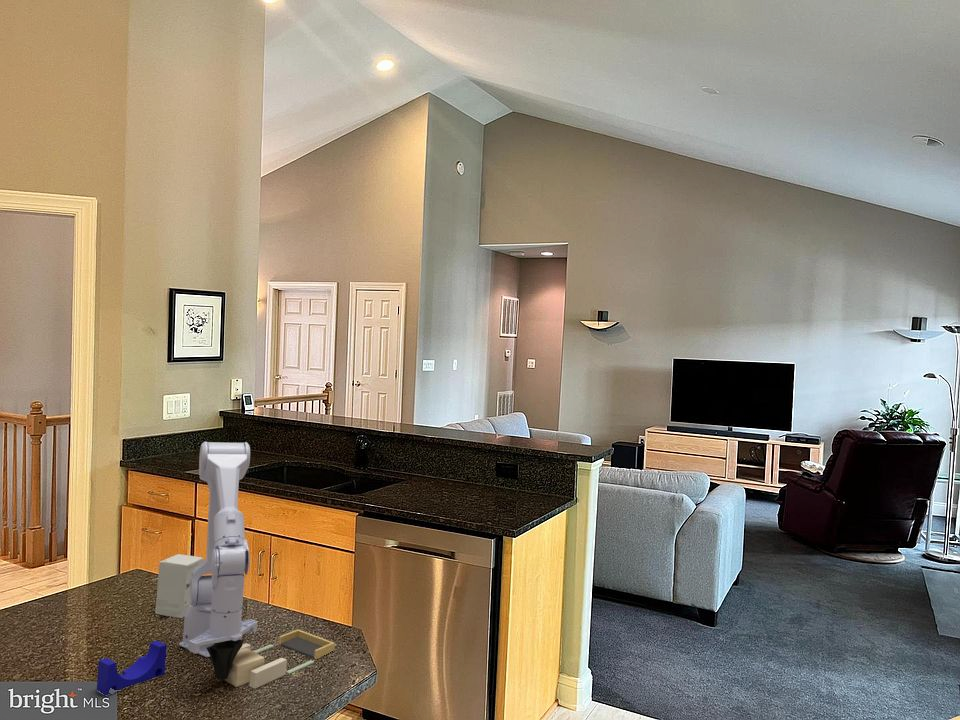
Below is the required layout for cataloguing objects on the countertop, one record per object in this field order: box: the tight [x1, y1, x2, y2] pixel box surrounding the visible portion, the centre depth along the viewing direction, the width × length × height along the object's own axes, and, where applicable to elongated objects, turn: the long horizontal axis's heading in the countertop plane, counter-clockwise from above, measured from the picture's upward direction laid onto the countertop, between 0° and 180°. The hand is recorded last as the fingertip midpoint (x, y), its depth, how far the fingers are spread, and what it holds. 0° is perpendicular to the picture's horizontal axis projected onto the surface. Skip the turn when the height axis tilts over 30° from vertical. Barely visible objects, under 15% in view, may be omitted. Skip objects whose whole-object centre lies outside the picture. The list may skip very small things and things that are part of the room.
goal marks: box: [252, 644, 315, 675], centre depth 152 cm, size 13×7×1 cm, turn 59°
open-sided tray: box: [278, 629, 336, 660], centre depth 159 cm, size 11×6×2 cm, turn 59°
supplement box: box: [154, 553, 204, 619], centre depth 173 cm, size 7×7×13 cm
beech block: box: [224, 648, 265, 688], centre depth 143 cm, size 6×6×4 cm
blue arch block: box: [96, 640, 168, 695], centre depth 137 cm, size 12×4×6 cm, turn 149°
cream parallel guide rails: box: [212, 642, 288, 689], centre depth 145 cm, size 12×8×3 cm, turn 59°
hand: (221, 678), depth 139 cm, fingers closed
